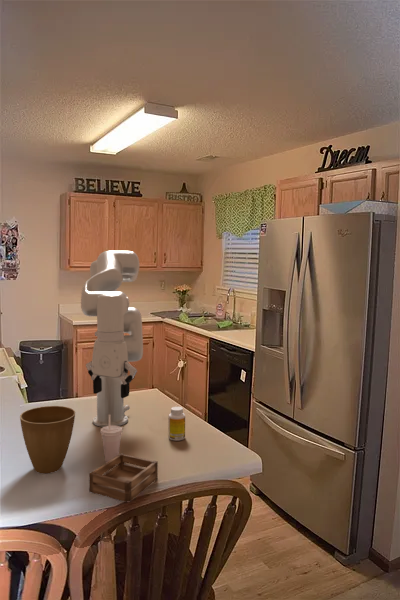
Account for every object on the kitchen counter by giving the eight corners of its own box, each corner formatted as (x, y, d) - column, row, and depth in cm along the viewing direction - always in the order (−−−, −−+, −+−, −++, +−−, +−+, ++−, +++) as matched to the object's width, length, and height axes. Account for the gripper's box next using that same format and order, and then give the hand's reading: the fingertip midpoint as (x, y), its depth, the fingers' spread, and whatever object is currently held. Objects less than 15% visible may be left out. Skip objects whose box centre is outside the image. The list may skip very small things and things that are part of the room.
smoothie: (102, 456, 145) (101, 411, 143) (123, 455, 145) (123, 410, 144) (99, 465, 138) (98, 418, 137) (121, 465, 139) (121, 418, 137)
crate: (120, 470, 136) (120, 453, 135) (157, 478, 130) (157, 461, 130) (89, 492, 123) (89, 473, 123) (128, 502, 118) (128, 483, 117)
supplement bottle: (187, 440, 158) (187, 410, 157) (171, 442, 156) (171, 411, 155) (182, 434, 163) (182, 405, 162) (166, 436, 161) (166, 406, 160)
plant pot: (23, 484, 127) (21, 425, 125) (19, 461, 140) (18, 408, 139) (80, 474, 133) (79, 418, 131) (71, 454, 146) (71, 403, 145)
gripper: (78, 336, 138) (79, 394, 140) (128, 341, 131) (128, 402, 133) (94, 332, 145) (95, 388, 147) (143, 337, 138) (143, 395, 139)
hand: (111, 394), depth 140 cm, fingers open, 9 cm apart
